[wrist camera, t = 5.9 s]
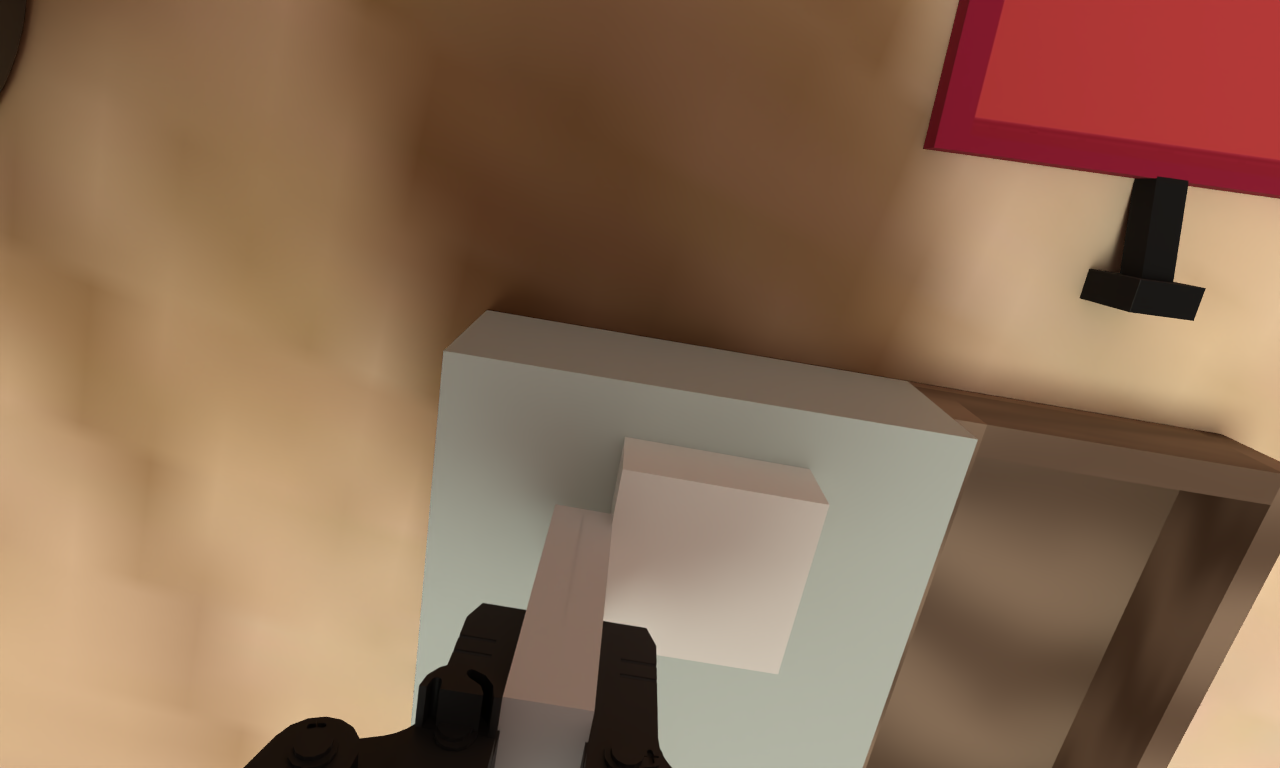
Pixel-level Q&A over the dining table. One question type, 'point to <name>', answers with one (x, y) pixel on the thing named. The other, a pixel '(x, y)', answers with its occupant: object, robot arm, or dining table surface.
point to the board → (716, 422)
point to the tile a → (711, 552)
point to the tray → (1078, 590)
